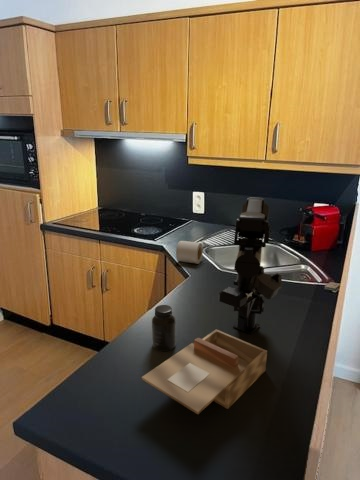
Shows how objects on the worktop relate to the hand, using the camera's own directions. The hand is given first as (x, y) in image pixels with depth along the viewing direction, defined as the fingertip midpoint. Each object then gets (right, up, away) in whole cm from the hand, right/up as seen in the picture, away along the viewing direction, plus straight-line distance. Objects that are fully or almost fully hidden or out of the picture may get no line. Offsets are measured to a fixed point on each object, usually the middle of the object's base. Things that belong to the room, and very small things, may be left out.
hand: (245, 316), depth 96 cm
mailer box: (-7, -14, -5) cm, 16 cm away
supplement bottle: (-22, -10, +8) cm, 26 cm away
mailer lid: (-14, -10, -15) cm, 23 cm away
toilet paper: (-13, +10, +76) cm, 78 cm away
